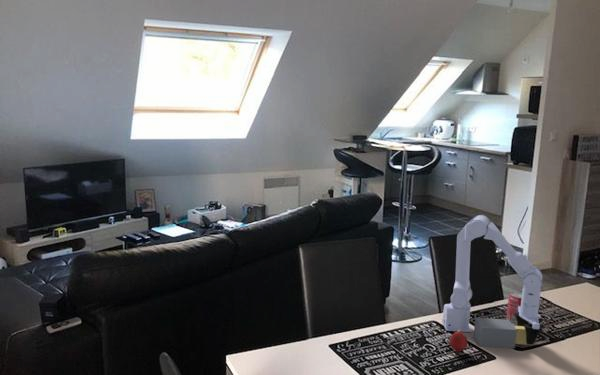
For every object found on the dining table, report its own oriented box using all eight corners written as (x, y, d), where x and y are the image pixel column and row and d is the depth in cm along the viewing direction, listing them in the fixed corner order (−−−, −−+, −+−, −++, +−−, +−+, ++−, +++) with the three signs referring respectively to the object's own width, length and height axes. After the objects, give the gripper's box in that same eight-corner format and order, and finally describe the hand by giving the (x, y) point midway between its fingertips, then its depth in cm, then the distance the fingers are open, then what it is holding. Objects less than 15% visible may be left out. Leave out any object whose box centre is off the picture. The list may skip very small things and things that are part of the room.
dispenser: (479, 346, 169) (481, 327, 168) (473, 335, 177) (475, 317, 176) (516, 348, 168) (518, 330, 167) (508, 337, 176) (510, 319, 175)
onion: (457, 357, 161) (459, 335, 160) (445, 349, 166) (447, 328, 165) (469, 353, 164) (472, 332, 162) (457, 346, 169) (459, 325, 167)
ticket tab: (487, 342, 172) (489, 327, 171) (485, 338, 174) (487, 324, 173) (533, 345, 170) (535, 330, 169) (530, 341, 173) (532, 326, 172)
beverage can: (519, 320, 190) (523, 292, 188) (525, 328, 184) (529, 298, 182) (503, 319, 191) (506, 291, 189) (508, 326, 185) (512, 297, 182)
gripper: (550, 312, 162) (545, 349, 164) (533, 295, 176) (529, 329, 178) (529, 311, 162) (524, 348, 165) (513, 294, 176) (509, 328, 179)
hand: (525, 338), depth 171 cm, fingers open, 7 cm apart
